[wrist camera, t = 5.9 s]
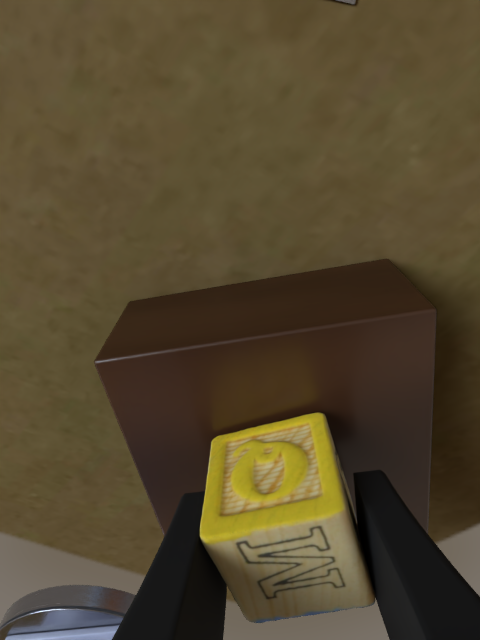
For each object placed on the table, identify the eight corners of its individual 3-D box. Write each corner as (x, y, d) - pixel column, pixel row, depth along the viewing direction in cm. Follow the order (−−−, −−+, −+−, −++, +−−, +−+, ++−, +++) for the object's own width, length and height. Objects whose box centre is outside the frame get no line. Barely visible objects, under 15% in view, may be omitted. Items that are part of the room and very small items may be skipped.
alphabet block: (245, 513, 12) (246, 631, 9) (207, 436, 11) (194, 547, 8) (349, 489, 12) (381, 606, 9) (322, 405, 10) (351, 513, 7)
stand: (392, 455, 16) (428, 540, 13) (188, 480, 16) (175, 567, 13) (388, 257, 12) (438, 308, 9) (128, 300, 13) (92, 361, 10)
